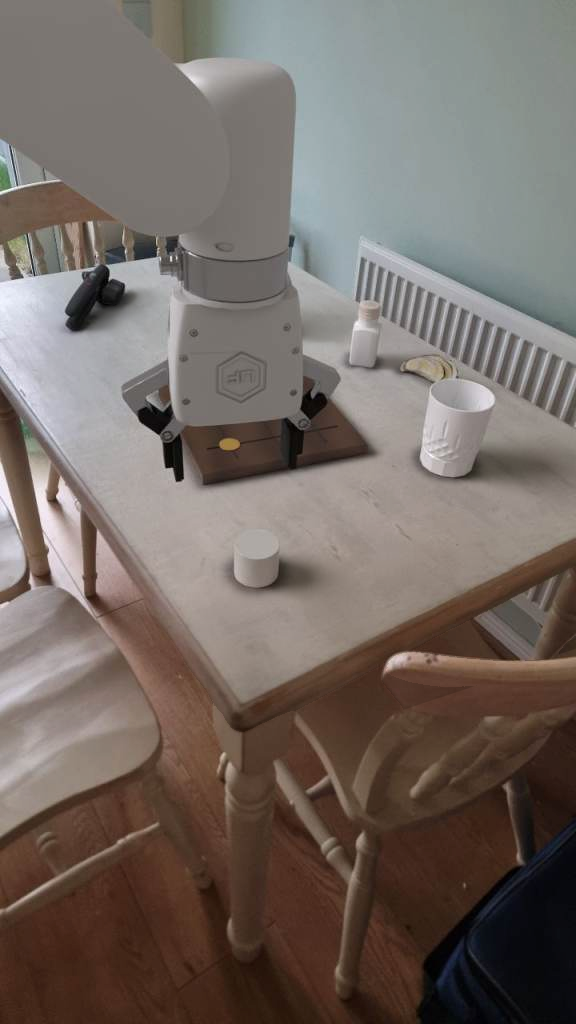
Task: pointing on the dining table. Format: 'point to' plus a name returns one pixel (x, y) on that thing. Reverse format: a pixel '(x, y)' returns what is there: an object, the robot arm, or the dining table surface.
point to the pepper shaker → (366, 335)
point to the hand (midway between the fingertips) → (233, 466)
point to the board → (265, 443)
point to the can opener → (92, 295)
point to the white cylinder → (256, 557)
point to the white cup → (455, 426)
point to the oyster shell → (431, 367)
